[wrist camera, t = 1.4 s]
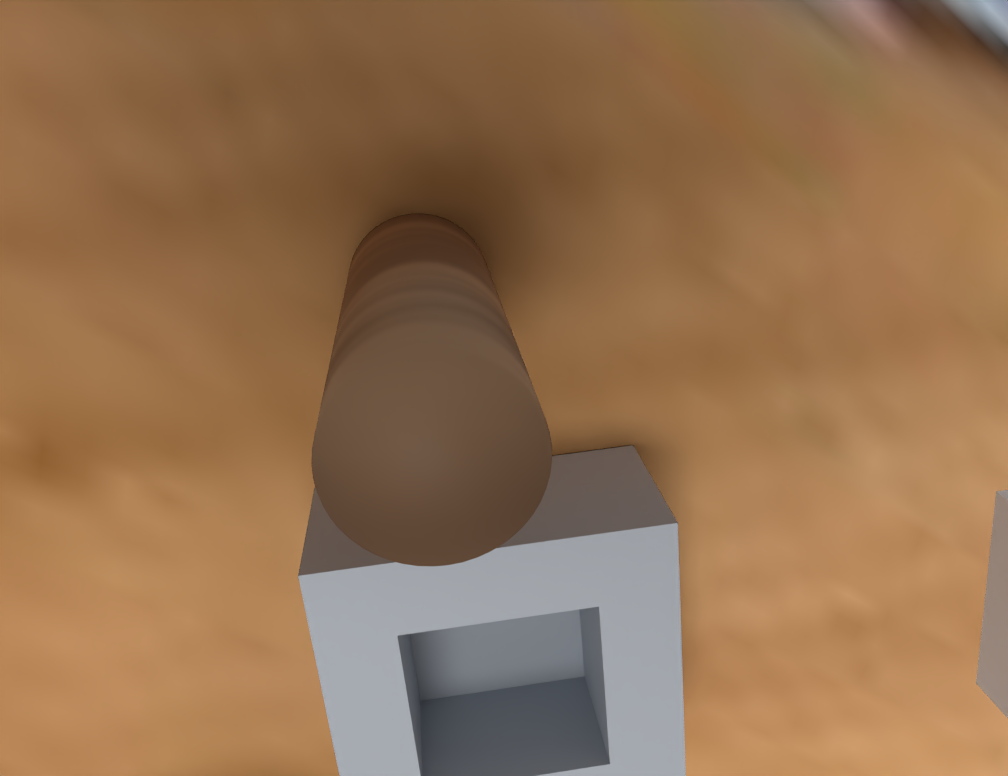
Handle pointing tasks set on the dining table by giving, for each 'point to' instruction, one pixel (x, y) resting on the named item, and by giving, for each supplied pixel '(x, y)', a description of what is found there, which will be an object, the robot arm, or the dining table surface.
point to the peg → (427, 403)
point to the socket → (510, 640)
